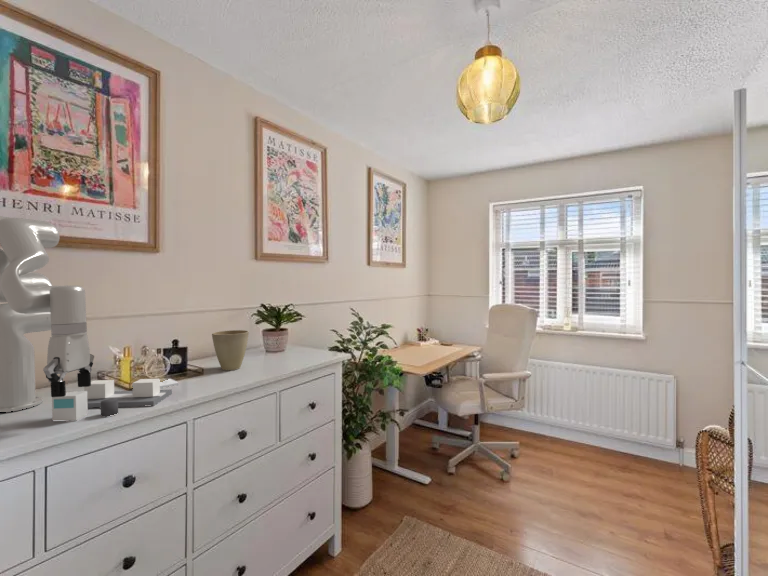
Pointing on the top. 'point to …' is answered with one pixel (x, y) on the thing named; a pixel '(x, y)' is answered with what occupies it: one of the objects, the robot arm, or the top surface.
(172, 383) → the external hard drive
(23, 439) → the top surface
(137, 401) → the rail board
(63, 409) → the module
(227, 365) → the plant pot
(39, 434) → the top surface
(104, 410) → the dark grey cube
